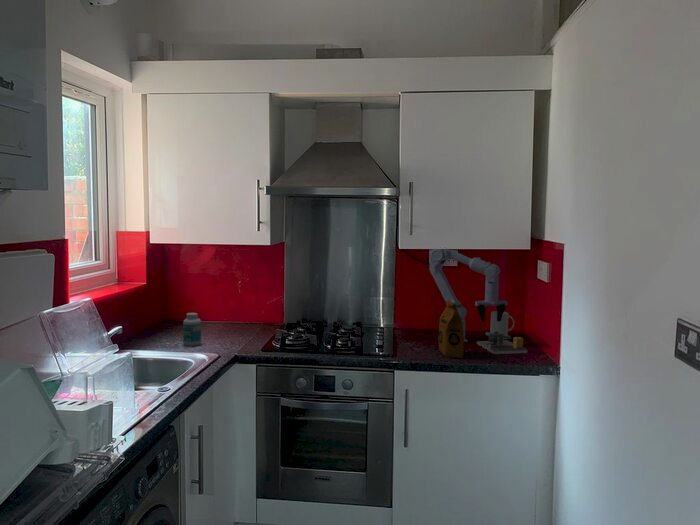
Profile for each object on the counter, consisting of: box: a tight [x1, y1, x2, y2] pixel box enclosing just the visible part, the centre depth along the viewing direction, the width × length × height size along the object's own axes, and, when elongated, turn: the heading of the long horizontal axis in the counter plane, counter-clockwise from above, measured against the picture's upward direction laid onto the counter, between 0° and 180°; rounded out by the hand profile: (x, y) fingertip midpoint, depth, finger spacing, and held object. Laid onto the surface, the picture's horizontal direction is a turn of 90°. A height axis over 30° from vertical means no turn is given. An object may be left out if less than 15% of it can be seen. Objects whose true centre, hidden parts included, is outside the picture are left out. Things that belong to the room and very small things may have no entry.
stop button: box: [488, 336, 497, 343], centre depth 232 cm, size 4×4×2 cm
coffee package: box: [437, 300, 465, 359], centre depth 221 cm, size 10×12×22 cm
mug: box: [489, 310, 515, 340], centre depth 254 cm, size 12×8×12 cm
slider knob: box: [512, 336, 524, 348], centre depth 228 cm, size 3×3×4 cm
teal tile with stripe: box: [485, 331, 512, 340], centre depth 239 cm, size 11×4×1 cm, turn 100°
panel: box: [476, 331, 528, 355], centre depth 233 cm, size 15×18×6 cm
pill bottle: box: [182, 312, 202, 347], centre depth 231 cm, size 8×7×14 cm
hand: (490, 321), depth 239 cm, fingers open, 7 cm apart
